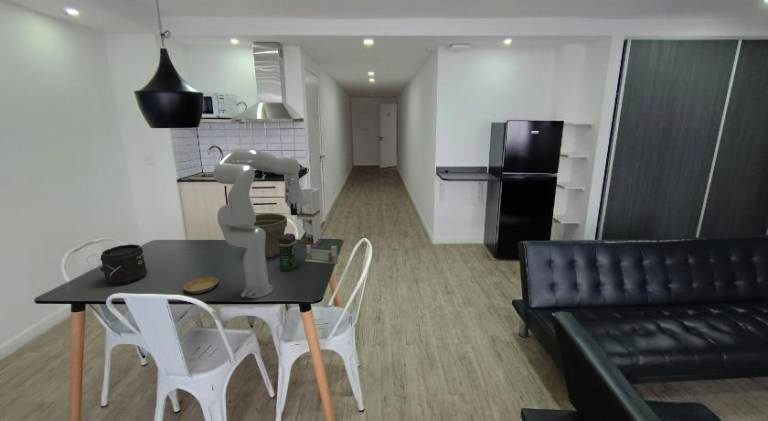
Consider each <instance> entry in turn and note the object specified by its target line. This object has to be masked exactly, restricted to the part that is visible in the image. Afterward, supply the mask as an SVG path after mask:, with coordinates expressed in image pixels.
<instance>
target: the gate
mask: <svg viewBox="0 0 768 421" xmlns="http://www.w3.org/2000/svg"><path fill="white" fill-rule="evenodd" d="M329 253H331V250H327V249H326V250H324V249H315V248H311V258H312V259H315V260H325V261H329V259H328V254H329Z"/></svg>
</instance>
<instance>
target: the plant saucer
mask: <svg viewBox="0 0 768 421" xmlns="http://www.w3.org/2000/svg"><path fill="white" fill-rule="evenodd" d="M218 283H219V279H218V278H216V277H215V276H204V277H198V278H194V279H192V280H190V281H188V282H186V283H184V285H183V290H184V291H186V292H188V293H189V294H202V293H207V292H208V291H211V290H213V289H214V288H215V287H216V285H217V284H218Z"/></svg>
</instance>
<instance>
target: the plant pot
mask: <svg viewBox="0 0 768 421" xmlns="http://www.w3.org/2000/svg"><path fill="white" fill-rule="evenodd" d="M255 216H256V222H255V224H254V225H253V226H256V227H260V228H262V229H263V230H264V231H265V233H266V242H265V255H266V258H272V257H275V256H277V255H280V253H279V245H278V238H280V237H281V236H283V235H285V230H286V227H288V226H287V225H288V217H287V216H286V215H284V214H280V213H260V214H255Z"/></svg>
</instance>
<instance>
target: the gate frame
mask: <svg viewBox="0 0 768 421" xmlns="http://www.w3.org/2000/svg"><path fill="white" fill-rule="evenodd" d="M305 249H306V259H304V262H311V263H320V264H329V265H330V264H331V265H337V264H338V263H339V262H340V260H338V245H331V247H330V251H331V253H329V254H328V259H329V261H325V260H315V259H312V256H311V250H312V247H311V245H309V244H308V245H306V246H305Z"/></svg>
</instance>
